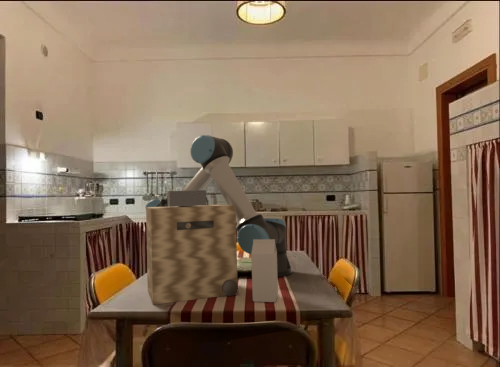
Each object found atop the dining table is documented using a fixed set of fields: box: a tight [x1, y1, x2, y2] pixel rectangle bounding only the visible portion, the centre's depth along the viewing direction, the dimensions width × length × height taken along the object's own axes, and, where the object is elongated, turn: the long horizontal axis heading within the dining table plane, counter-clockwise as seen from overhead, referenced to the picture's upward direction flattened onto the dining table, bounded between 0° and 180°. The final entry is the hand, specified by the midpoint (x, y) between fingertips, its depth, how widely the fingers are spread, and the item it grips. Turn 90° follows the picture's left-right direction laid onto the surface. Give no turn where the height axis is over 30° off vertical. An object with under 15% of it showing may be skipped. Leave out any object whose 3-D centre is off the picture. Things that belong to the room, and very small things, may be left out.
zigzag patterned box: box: [145, 204, 239, 305], centre depth 128 cm, size 28×20×30 cm
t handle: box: [166, 189, 207, 207], centre depth 134 cm, size 12×30×5 cm, turn 20°
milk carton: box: [250, 239, 279, 303], centre depth 118 cm, size 7×7×19 cm
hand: (178, 192), depth 139 cm, fingers closed on t handle, 3 cm apart
